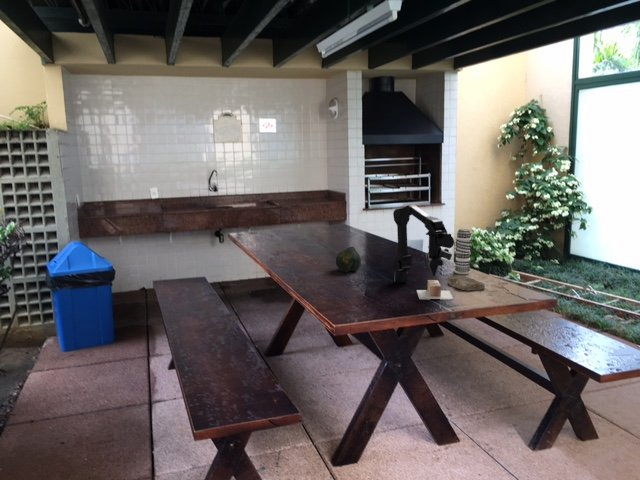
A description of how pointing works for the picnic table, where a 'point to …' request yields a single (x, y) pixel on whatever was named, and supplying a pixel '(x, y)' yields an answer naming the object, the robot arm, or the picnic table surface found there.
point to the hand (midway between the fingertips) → (433, 275)
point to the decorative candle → (463, 251)
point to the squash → (348, 260)
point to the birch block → (434, 288)
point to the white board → (425, 295)
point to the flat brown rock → (465, 283)
